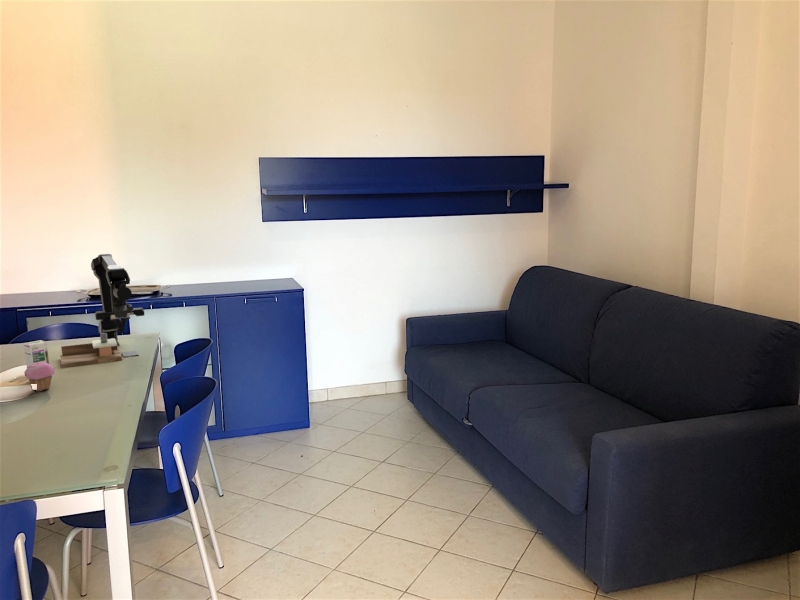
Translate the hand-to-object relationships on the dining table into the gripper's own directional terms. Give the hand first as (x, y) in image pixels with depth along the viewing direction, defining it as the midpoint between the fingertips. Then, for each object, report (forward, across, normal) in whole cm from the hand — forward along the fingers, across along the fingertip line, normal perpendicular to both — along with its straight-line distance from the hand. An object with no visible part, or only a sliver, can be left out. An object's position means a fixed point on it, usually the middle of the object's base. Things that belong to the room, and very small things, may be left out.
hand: (121, 333), depth 256 cm
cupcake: (+9, -30, -39) cm, 50 cm away
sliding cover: (+4, -7, 0) cm, 8 cm away
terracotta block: (+9, -7, -2) cm, 12 cm away
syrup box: (+9, -30, -25) cm, 41 cm away
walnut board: (+9, -12, -2) cm, 16 cm away
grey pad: (+9, +2, -2) cm, 10 cm away
